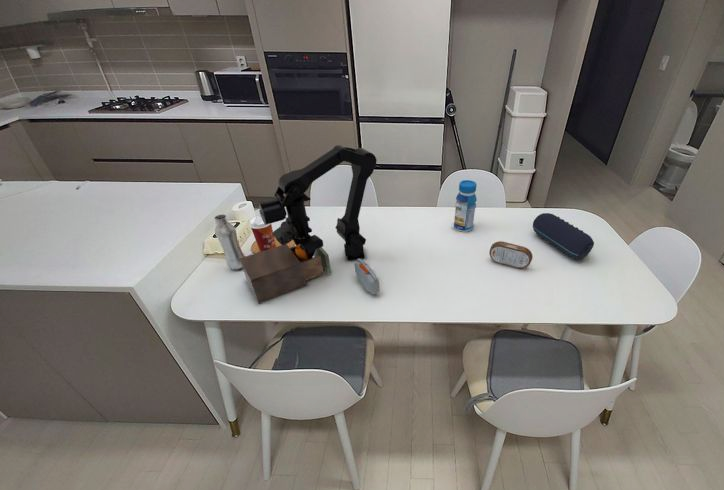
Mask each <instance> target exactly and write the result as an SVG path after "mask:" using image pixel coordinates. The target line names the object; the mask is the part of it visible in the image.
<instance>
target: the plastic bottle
mask: <svg viewBox="0 0 724 490" xmlns="http://www.w3.org/2000/svg"><path fill="white" fill-rule="evenodd" d="M214 221H215V224H216V225H215V229H214V234H215V236H216V239H217V240H218V242H219V243H220V246H221V248H222V250H223V254H224V257H225V263H226V265H227V267H228V268H230V269H231V270H240V269H243V268H242V265H241V262H240V259H239V258H243V257H246V256H245V253H244V252H243V250H242V248H241V246H240V243H239V240H238V235H237V229H236V227H235V225H233V224H232V223H230V222H229V219H228V217H227V215H226V214H218V215H215V216H214Z"/></svg>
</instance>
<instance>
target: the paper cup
mask: <svg viewBox="0 0 724 490" xmlns="http://www.w3.org/2000/svg"><path fill="white" fill-rule="evenodd" d="M248 226H249V228H250V229H251V231H252V234H253V237H254V239H255V242H256V245H257V247H258V250H259V252H262V251H265V250H268V249H271V248H275V247H277V246H276V239H275V237H274V236H273V234H272V233H273V232H274V230H273V225H272V223H270V224H267V225H265V224H264V222H263V220H262V218H261V215H258V216H254V217H252V218H251V219H250V220H249V225H248Z"/></svg>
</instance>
